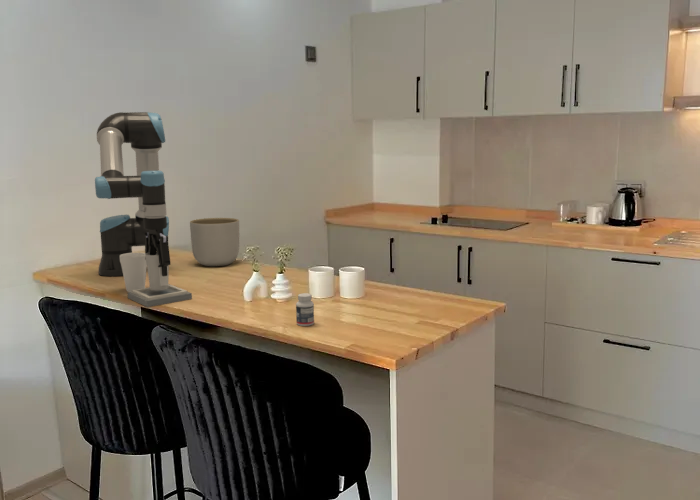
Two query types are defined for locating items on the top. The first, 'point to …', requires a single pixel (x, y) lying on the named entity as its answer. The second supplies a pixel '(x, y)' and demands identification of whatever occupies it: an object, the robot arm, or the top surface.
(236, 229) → the planter
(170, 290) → the grey square tray
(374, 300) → the top surface
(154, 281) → the cup
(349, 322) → the top surface
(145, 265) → the foam cup
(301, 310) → the pill bottle
